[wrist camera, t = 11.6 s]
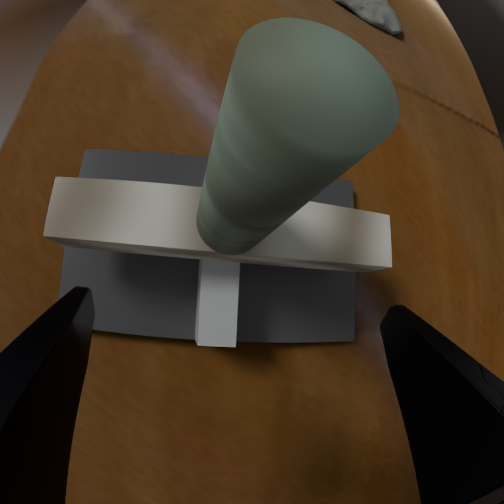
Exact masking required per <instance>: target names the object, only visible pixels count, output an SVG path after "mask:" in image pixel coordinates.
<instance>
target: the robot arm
mask: <svg viewBox="0 0 504 504" xmlns="http://www.w3.org/2000/svg"><path fill="white" fill-rule="evenodd" d="M94 319H95V308H94V303H93V297H92V292H91V289H90V288H89V287H84V286H75V287H74V288H73V289H71V290H70V291H69V292H68V293H67V294H65V295H64V296H63V297H62V298H61V299H59V300H58V301H57V302H56V303H55V304H54V305H52V306H51V307H50V308H49V309H48V310H47V311H46V312H44V313H43V314H42V315H41V316H40V317H39V318H38V319H36V320H35V321H34V322H33V323H32V324H31V325H30V326H29V327H28V328H26V329H25V330H24V331H23V332H22V333H21V334H20V335H19V336H18V337H17V338H16V339H15V340H13V341H12V342H11V343H10V344H9V345H8V346H7V347H6V348H5V349H4V350H3V351H2V352H1V353H0V504H65V500H66V498H65V497H66V486H67V476H68V468H69V460H70V452H71V446H72V439H73V433H74V427H75V421H76V416H77V411H78V406H79V401H80V396H81V392H82V387H83V383H84V378H85V374H86V369H87V365H88V358H89V350H90V343H91V337H92V330H93V324H94ZM380 330H381V335H382V339H383V344H384V348H385V353H386V358H387V363H388V367H389V371H390V374H391V378H392V381H393V385H394V388H395V391H396V395H397V399H398V402H399V406H400V409H401V413H402V417H403V421H404V425H405V429H406V433H407V437H408V441H409V445H410V449H411V454H412V458H413V463H414V467H415V472H416V478H417V483H418V488H419V494H420V499H421V504H504V382H503V381H502V380H501V379H499V378H498V377H497V376H495V375H494V374H493V373H491V372H490V371H489V370H488V369H486V368H485V367H484V366H483V365H481V364H479V363H478V362H477V361H476V360H475V359H474V358H472V357H471V356H470V355H469V354H467V353H466V352H465V351H463V350H462V349H461V348H460V347H458V346H457V345H456V344H454V343H453V342H452V341H451V340H449V339H448V338H447V337H445V336H444V335H443V334H441V333H440V332H439V331H437V330H436V329H435V328H433V327H432V326H431V325H429V324H428V323H427V322H425V321H424V320H423V319H421V318H420V317H419V316H417V315H416V314H415V313H413V312H412V311H411V310H409V309H408V308H406V307H405V306H403V305H392V306H391V307H390V308H389V310H388V312H387V313H386V315H385V317H384V318H383V320H382V322H381V325H380Z"/></svg>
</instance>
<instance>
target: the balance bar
mask: <svg viewBox="0 0 504 504" xmlns="http://www.w3.org/2000/svg"><path fill="white" fill-rule="evenodd" d="M398 118H399V102H398V97H397V94H396V91H395V88H394V86H393V84H392V82H391V80H390V78H389V76H388V75H387V73H386V72H385V70H384V69H383V67H382V66H381V65H380V64H379V62H378V61H377V60H376V59H375V58H374V57H373V56H372V55H371V54H370V53H369V52H368V51H367V50H366V49H365V48H363V47H362V46H361V45H360V44H358V43H357V42H356V41H354V40H353V39H351V38H350V37H348V36H346V35H345V34H343V33H341V32H339V31H337V30H335V29H333V28H331V27H328V26H326V25H323V24H320V23H317V22H313V21H309V20H304V19H297V18H277V19H271V20H266V21H263V22H261V23H258V24H256V25H254V26H253V27H251V28H250V29H249V30H247V31H246V32H245V33H244V35H243V36H242V37H241V39H240V41H239V43H238V46H237V49H236V53H235V56H234V60H233V63H232V67H231V70H230V74H229V78H228V82H227V85H226V89H225V93H224V97H223V101H222V104H221V108H220V112H219V116H218V120H217V125H216V129H215V133H214V137H213V141H212V146H211V150H210V154H209V159H208V163H207V168H206V172H205V177H204V182H203V186H202V187H195V186H185V185H175V184H164V183H152V182H139V181H126V180H111V179H93V178H72V177H56V178H55V182H54V186H53V190H52V194H51V199H50V203H49V208H48V213H47V218H46V223H45V228H44V234H43V236H44V237H46V238H47V239H49V240H51V241H53V242H54V243H56V244H58V245H59V246H63V247H73V248H83V249H93V250H103V251H114V252H124V253H135V254H146V255H157V256H168V257H179V258H190V259H201V260H213V261H225V262H236V263H248V264H261V265H273V266H285V267H298V268H311V269H324V270H337V271H351V272H365V273H369V272H373V271H378V270H382V269H386V268H391V267H392V252H391V232H390V218H389V215H385V214H380V213H375V212H369V211H364V210H358V209H353V208H347V207H341V206H335V205H329V204H323V203H317V202H311V200H312V199H313V198H314V197H315V196H317V195H318V194H319V193H320V192H321V191H323V190H324V189H325V188H326V187H328V186H329V185H330V184H331V183H332V182H334V181H335V180H336V179H337V178H338V177H340V176H341V175H342V174H343V173H345V172H346V171H347V170H348V169H349V168H351V167H352V166H353V165H354V164H356V163H357V162H358V161H359V160H360V159H362V158H363V157H364V156H365V155H366V154H368V153H369V152H370V151H371V150H373V149H374V148H375V147H376V146H377V145H379V144H380V143H381V142H382V141H384V140H385V139H386V138H387V137H388V136H389V135H390V134H391V133H392V132H393V130H394V129H395V127H396V125H397V122H398Z"/></svg>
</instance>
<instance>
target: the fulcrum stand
mask: <svg viewBox="0 0 504 504" xmlns="http://www.w3.org/2000/svg"><path fill="white" fill-rule="evenodd" d="M208 159H209V158H206V157H197V156H188V155H177V154H166V153H154V152H140V151H124V150H102V149H86V150H85V153H84V157H83V160H82V164H81V168H80V172H79V176H78V178H93V179H111V180H126V181H139V182H152V183H164V184H175V185H185V186H195V187H202V186H203V182H204V177H205V172H206V168H207V163H208ZM311 202H317V203H323V204H329V205H335V206H341V207H347V208H353V209H354V198H353V183H352V181H348V180H343V179H338V178H337V179H336V180H335V181H334V182H332V183H331V184H330V185H329V186H328V187H326V188H325V189H324V190H323V191H321V192H320V193H319V194H318V195H317V196H315V197H314V198H313V199H312V200H311ZM75 286H84V287H89V288H90V289H91V292H92V297H93V303H94V308H95V319H94V324H93V330H100V331H108V332H116V333H124V334H133V335H143V336H153V337H165V338H177V339H191V340H195V341H196V343H197V345H198V346H216V347H236V342H272V343H300V342H341V341H354V336H355V308H356V272H351V271H337V270H324V269H311V268H298V267H285V266H273V265H261V264H248V263H236V262H225V261H213V260H201V259H190V258H179V257H168V256H157V255H146V254H135V253H124V252H114V251H103V250H93V249H83V248H73V247H65V248H64V256H63V263H62V272H61V282H60V293H59V299H61V298H62V297H63V296H64V295H65V294H67V293H68V292H69V291H70V290H71V289H73V288H74V287H75Z"/></svg>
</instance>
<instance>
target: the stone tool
mask: <svg viewBox="0 0 504 504" xmlns="http://www.w3.org/2000/svg"><path fill="white" fill-rule="evenodd" d="M334 1H336V2H338V3H340V4H342V5H344V6H346V7H347V8H349V9H350V10H351V11H353V12H354V13H355V14H356V15H357V16H358V17H359V18H360V19H362V20H364V21H366V22H367V23H369V24H371V25H374V26H376V27H378V28H380V29H382V30H385V31H386V32H388V33H390V34H391V35H395V34H400V33H401V31H402V26H401V24H400V22H399V21H398V19H397V16H396V13H395V12H394V10H393V9H392V8H391V7H390V5H389V4H388V2H387V0H334Z"/></svg>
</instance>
